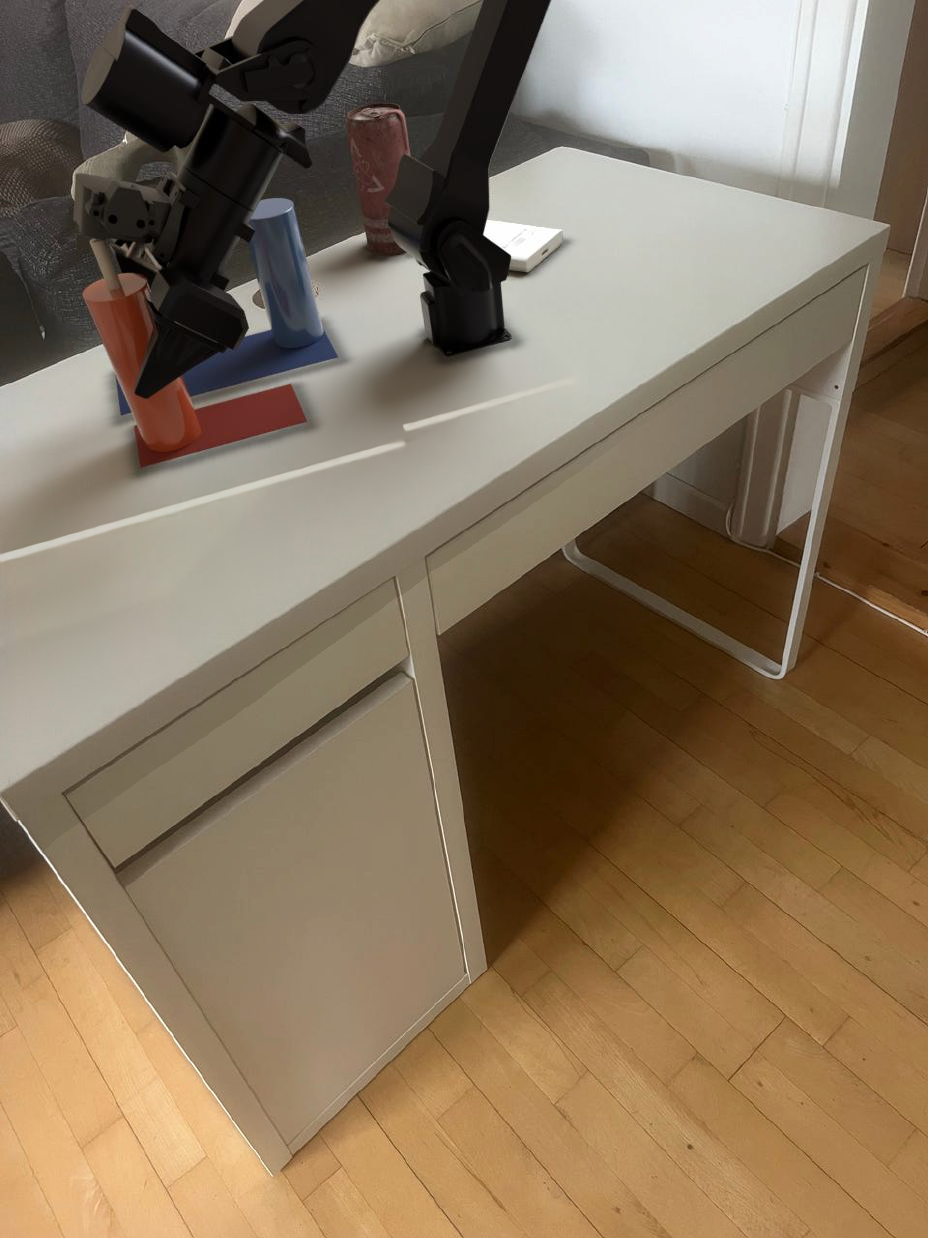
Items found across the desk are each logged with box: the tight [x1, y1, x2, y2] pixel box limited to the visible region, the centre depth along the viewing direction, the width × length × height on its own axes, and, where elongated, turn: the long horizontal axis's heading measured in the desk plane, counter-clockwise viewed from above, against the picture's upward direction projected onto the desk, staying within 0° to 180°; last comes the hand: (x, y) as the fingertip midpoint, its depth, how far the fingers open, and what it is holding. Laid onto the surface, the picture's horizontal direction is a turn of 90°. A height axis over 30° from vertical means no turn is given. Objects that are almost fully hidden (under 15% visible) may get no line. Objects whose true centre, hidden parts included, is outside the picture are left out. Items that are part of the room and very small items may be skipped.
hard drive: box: [484, 219, 564, 273], centre depth 97 cm, size 2×8×12 cm
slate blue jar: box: [246, 197, 324, 348], centre depth 82 cm, size 5×5×12 cm
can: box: [345, 102, 411, 257], centre depth 96 cm, size 6×6×14 cm
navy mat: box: [115, 328, 339, 416], centre depth 84 cm, size 20×9×1 cm, turn 109°
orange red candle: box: [82, 238, 201, 452], centre depth 70 cm, size 5×5×16 cm
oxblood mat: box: [133, 383, 308, 468], centre depth 77 cm, size 14×7×1 cm, turn 109°
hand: (127, 371), depth 71 cm, fingers open, 9 cm apart
